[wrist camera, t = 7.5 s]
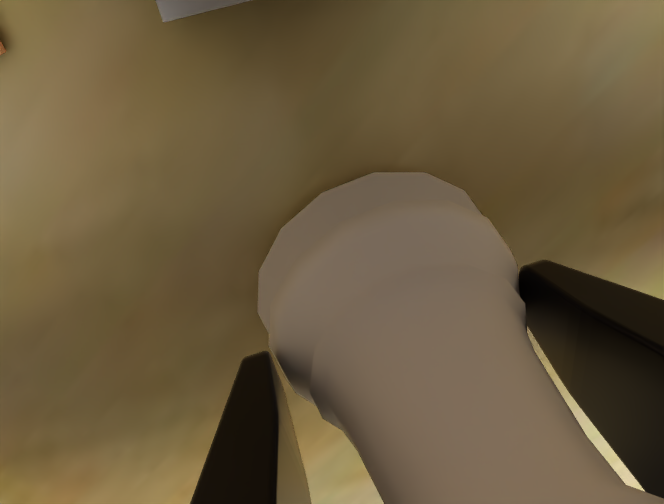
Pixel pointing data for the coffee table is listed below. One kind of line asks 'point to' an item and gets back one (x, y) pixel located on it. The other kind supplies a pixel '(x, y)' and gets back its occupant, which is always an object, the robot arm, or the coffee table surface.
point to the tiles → (182, 9)
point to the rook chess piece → (424, 349)
